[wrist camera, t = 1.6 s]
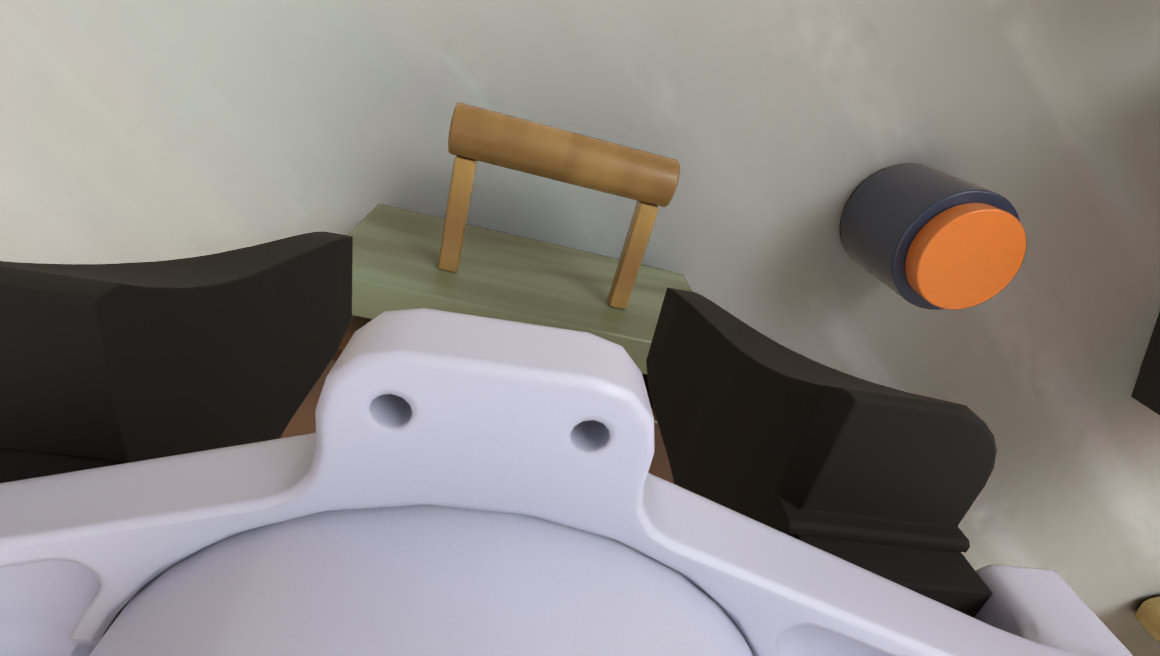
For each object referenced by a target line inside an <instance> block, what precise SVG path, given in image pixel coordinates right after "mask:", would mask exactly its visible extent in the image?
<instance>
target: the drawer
mask: <svg viewBox="0 0 1160 656" xmlns="http://www.w3.org/2000/svg"><path fill="white" fill-rule="evenodd" d="M448 150H449V153H451V154H453V155H457V156H456V157H455V159H454V166H453V172H452V178H451V185H450V191H449V197H448V204H447V210H446V217H445V219H443V218H439V217H434V216H430V215H426V214H421V213H417V212H413V211H408V210H404V209H400V208H395V207H391V206H387V205H383V204H378V205H377V206H376V207H375V208H374V209H373V210H372V211H371V212H370V213H369V214H368V215H367V217H366V218H365V219H364V220H363V221H362V222H361V223H360V224H359V225H358V226H357V227H356V228H355V229H354V230H353V231H352V232H351V233H350V234H349V235H348V236H353V260H352V315H353V317H352V319H351V322H350V324H349V326H348V329H347V331H346V333H345V336H344V338H343V340H342V342H341V344H340V346H339V349H345V347H346V345H347V344H348V342H349V341H350V339H351V338H352V336H353V334H354V333H355V331H357V330H358V329H360V328H361V327H363V326H364V325H366V324H367V323H368V322H370V321H371V320H373V319H374V318H376V317H377V316H379V315H380V314H381V313H383V312H384V311H395V310H407V309H419V308H427V309H434V310H441V311H448V312H454V313H461V314H468V315H474V316H481V317H488V318H495V319H501V320H508V321H515V322H521V323H528V324H535V325H542V326H548V327H555V328H562V329H568V330H575V331H582V332H589V333H591V334H593V335H596V336H598V337H601V338H603V339H606V340H608V341H611V342H613V343H615V344H618V345H620V346H622V347H623V348H624V349H625V351H626V352H627V353H628V355H629V356H630V357H631V359H632V360H633V361H634V363H635V364H636V365H637V367H638V368H639V369H640V371H641V372H642V375H643V379H644V383H645V387H646V391H647V394H648V398H649V402H650V406H651V409H654V408H653V404H652V400H651V397H650V392H649V384H648V376H647V365H646V360H647V356H648V353H649V349H650V346H651V342H652V339H653V335H654V332H655V328H656V325H657V321H658V318H659V314H660V311H661V307H662V304H663V300H664V297H665V293H666V290H667V287H668V288H674V289H680V290H686V291H691V289H690V287H689V285H688V283H687V281H686V279H685V277H684V275H683V274H680V273H675V272H671V271H667V270H662V269H658V268H654V267H650V266H645V265H641V262H642V259H643V256H644V253H645V250H646V247H647V243H648V240H649V237H650V234H651V231H652V228H653V225H654V222H655V219H656V216H657V213H658V210H659V208H658V206H661V207H666V206H667V205H668V204H669V203H670V201H671V199H672V198H673V195H674V193H675V190H676V187H677V184H678V179H679V173H680V164H679V162H678V161H677V160H675V159H672V158H668V157H664V156H660V155H656V154H653V153H649V152H645V151H641V150H637V149H634V148H630V147H626V146H622V145H619V144H615V143H611V142H607V141H603V140H600V139H596V138H592V137H588V136H585V135H581V134H577V133H573V132H569V131H566V130H562V129H558V128H554V127H551V126H547V125H543V124H539V123H535V122H532V121H528V120H524V119H520V118H516V117H513V116H509V115H505V114H501V113H498V112H494V111H490V110H486V109H482V108H479V107H475V106H471V105H467V104H464V103H457V105H456V107H455V109H454V112H453V116H452V120H451V125H450V131H449V139H448ZM477 161H481V162H485V163H489V164H493V165H497V166H501V167H505V168H509V169H513V170H517V171H521V172H525V173H529V174H533V175H537V176H541V177H545V178H549V179H553V180H557V181H561V182H565V183H569V184H573V185H577V186H581V187H585V188H589V189H593V190H597V191H601V192H605V193H609V194H613V195H617V196H621V197H625V198H629V199H633V200H637V204H636V207H635V211H634V214H633V217H632V220H631V224H630V227H629V230H628V233H627V237H626V240H625V243H624V246H623V250H622V253H621V256H620V259H615V258H611V257H606V256H602V255H598V254H594V253H589V252H585V251H581V250H576V249H572V248H568V247H563V246H559V245H555V244H551V243H546V242H542V241H538V240H533V239H529V238H525V237H520V236H516V235H512V234H507V233H503V232H499V231H495V230H490V229H486V228H482V227H477V226H473V225H469V224H467V218H468V212H469V206H470V201H471V195H472V189H473V184H474V178H475V172H476V166H477Z"/></svg>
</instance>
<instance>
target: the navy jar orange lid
mask: <svg viewBox="0 0 1160 656" xmlns="http://www.w3.org/2000/svg"><path fill="white" fill-rule="evenodd" d="M840 233H841V240H842V243H843V246H844V248H845V250H846V252H847V253H848V254H849V256H850V257H851V258H852V259H854V260H855V261H856V262H857V263H859V264H860V265H861V266H863V267H864V268H865V269H866V270H868V271H869V272H870V273H872V274H873V275H874V276H876V277H877V278H878V279H879V280H881V281H882V282H883V283H885V284H886V285H887V286H888V287H890V288H891V289H892V290H894V291H895V292H896V293H897V294H899V295H900V296H901V297H903V298H904V299H905V300H907V301H908V302H909V303H911V304H913V305H915V306H918V307H921V308H926V309H964V308H969V307H972V306H975V305H978V304H980V303H983V302H985V301H986V300H988V299H990V298H992V297H993V296H995V295H996V294H997V293H999V292H1000V291H1001V290H1002V289H1003V288H1004V287H1005V286H1006V285H1007V284H1008V283H1009V282H1010V281H1011V280H1012V279H1013V277H1014V276H1015V275H1016V273H1017V271H1018V270H1019V268H1020V266H1021V264H1022V262H1023V259H1024V256H1025V251H1026V235H1025V232H1024V229H1023V227H1022V225H1021V223H1020V220H1019V217H1018V214H1017V212H1016V210H1015V208H1014V207H1013V206H1012V204H1011V203H1010V202H1009V201H1008V200H1007V199H1006V198H1004V197H1003V196H1001V195H999V194H997V193H994V192H992V191H989V190H986V189H984V188H981V187H979V186H976V185H973V184H971V183H968V182H965V181H963V180H960V179H957V178H955V177H952V176H949V175H947V174H944V173H941V172H939V171H936V170H933V169H931V168H928V167H925V166H923V165H918V164H899V165H894V166H891V167H888V168H885V169H883V170H881V171H879V172H877V173H875V174H874V175H872V176H871V177H869V178H868V179H867V180H865V181H864V182H863V183H862V184H861V185H860V186H859V187H858V188H857V189H856V191H855V192H854V193H853V195H852V196H851V197H850V199H849V201H848V203H847V204H846V206H845V209H844V211H843V215H842V218H841V225H840Z"/></svg>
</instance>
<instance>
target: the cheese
mask: <svg viewBox="0 0 1160 656" xmlns="http://www.w3.org/2000/svg"><path fill="white" fill-rule="evenodd" d="M1135 616H1136V619H1137V620H1138V621H1139V622H1140V624H1141V625H1142V626H1143V627H1144V628H1145V629H1146V630H1147V631H1148V632H1149V633H1150V634H1151V635H1152V636H1153V637H1154V638H1155V639H1156V640H1157V641H1158V642H1159V643H1160V596H1158V597H1154V598H1150V599H1148V600H1146V601H1144V602H1143V603H1142V604H1141V606H1140V607H1139V609H1138V610H1137V612H1136V614H1135Z"/></svg>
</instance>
